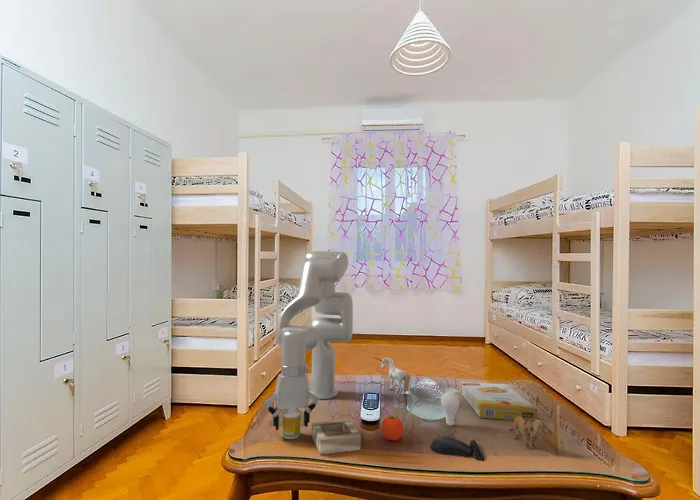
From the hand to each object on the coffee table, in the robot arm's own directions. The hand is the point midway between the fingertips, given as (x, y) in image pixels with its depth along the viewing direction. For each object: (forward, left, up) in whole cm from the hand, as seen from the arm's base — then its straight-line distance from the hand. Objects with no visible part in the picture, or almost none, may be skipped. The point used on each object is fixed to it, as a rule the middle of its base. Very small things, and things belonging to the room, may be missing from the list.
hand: (291, 426), depth 114 cm
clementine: (+10, +30, -3) cm, 32 cm away
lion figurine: (+23, +69, -3) cm, 73 cm away
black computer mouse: (+21, +45, -3) cm, 50 cm away
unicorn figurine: (-30, +47, -3) cm, 56 cm away
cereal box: (-6, +81, -3) cm, 81 cm away
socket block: (+8, +12, -3) cm, 15 cm away
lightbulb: (+6, +53, -3) cm, 53 cm away
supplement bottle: (0, 0, -3) cm, 3 cm away
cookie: (-13, +1, -3) cm, 14 cm away
